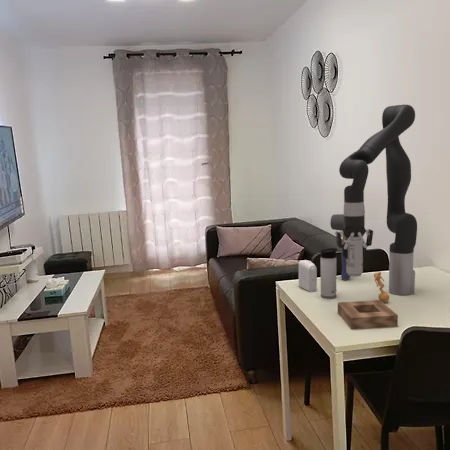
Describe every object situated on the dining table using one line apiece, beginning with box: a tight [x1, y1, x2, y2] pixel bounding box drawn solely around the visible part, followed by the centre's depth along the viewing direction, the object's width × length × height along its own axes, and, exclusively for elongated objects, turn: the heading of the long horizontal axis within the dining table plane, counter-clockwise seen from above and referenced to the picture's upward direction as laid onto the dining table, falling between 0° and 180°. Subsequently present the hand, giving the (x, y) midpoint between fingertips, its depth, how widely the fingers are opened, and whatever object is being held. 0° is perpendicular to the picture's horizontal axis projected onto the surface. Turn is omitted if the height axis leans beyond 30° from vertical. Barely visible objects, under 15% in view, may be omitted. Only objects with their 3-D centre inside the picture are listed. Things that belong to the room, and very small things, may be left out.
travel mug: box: [320, 247, 338, 300], centre depth 200 cm, size 6×7×20 cm
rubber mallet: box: [329, 213, 351, 281], centre depth 221 cm, size 12×8×30 cm, turn 60°
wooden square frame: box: [337, 299, 399, 330], centre depth 175 cm, size 16×16×4 cm
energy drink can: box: [346, 237, 364, 277], centre depth 186 cm, size 6×6×15 cm
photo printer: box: [298, 259, 318, 293], centre depth 212 cm, size 10×4×12 cm, turn 21°
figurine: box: [373, 271, 390, 303], centre depth 192 cm, size 8×6×12 cm
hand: (354, 257), depth 186 cm, fingers closed on energy drink can, 6 cm apart
